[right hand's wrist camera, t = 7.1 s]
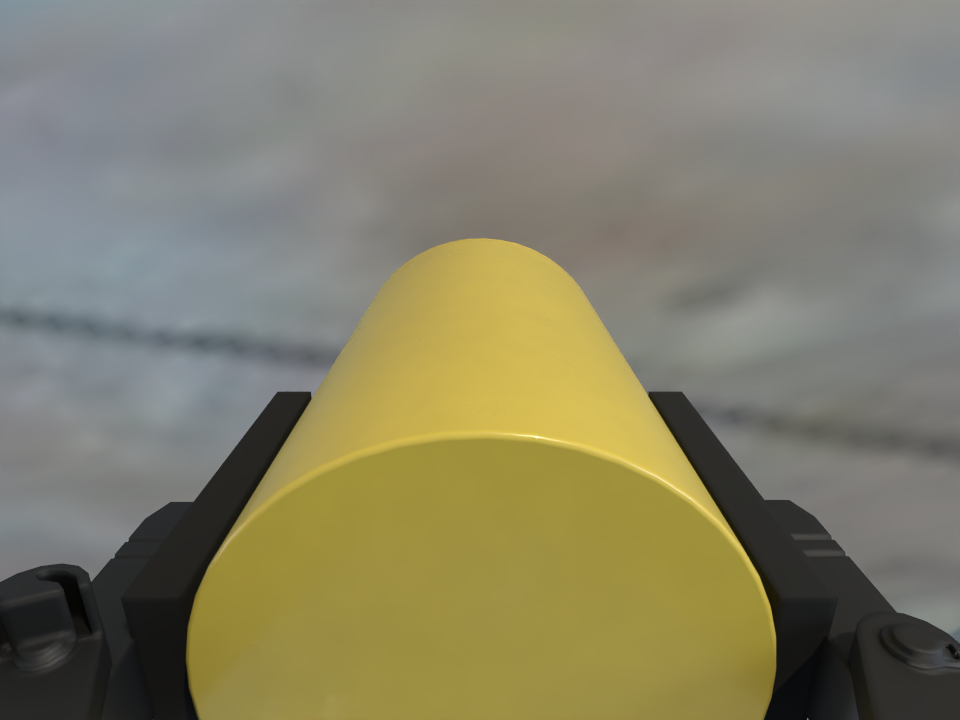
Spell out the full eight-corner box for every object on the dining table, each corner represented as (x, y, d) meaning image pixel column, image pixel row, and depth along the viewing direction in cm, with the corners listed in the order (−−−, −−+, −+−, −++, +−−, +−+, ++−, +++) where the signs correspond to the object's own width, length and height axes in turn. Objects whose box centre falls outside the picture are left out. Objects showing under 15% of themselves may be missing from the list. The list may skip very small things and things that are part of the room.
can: (328, 271, 19) (73, 512, 7) (576, 210, 18) (753, 363, 6) (399, 482, 21) (301, 911, 10) (618, 436, 21) (796, 837, 9)
